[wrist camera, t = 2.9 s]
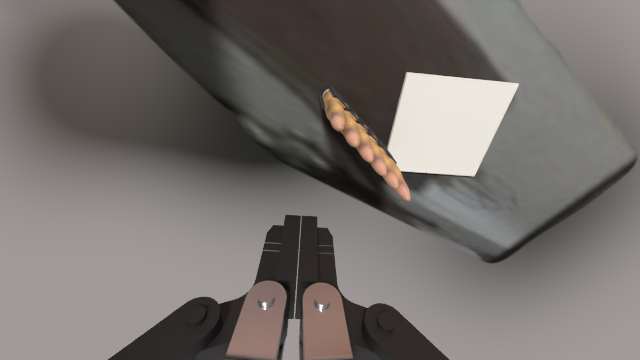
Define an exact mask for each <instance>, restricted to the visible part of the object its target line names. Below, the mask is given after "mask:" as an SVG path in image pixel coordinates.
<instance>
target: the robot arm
mask: <svg viewBox="0 0 640 360" xmlns="http://www.w3.org/2000/svg"><path fill="white" fill-rule="evenodd" d="M300 218H301V216H295V215H286V216H285V222H284V226H279V225H278V226H277V225H273V226H272V228H271V229H270V230H269V231H268V232H267V236H266V240H265V244H264V248H263V252H262V256H261V260H260V264H259V268H258V272H257V277H256V280H255V283H254V285H253V287H252V288H251V289H250V290H249V292H247V293H246V294H245V295H244V296H242V297H240V298H238V299H235V300H232V301H228V302H224V303H221V304H218V303H217V301H215V300H214V299H212V298H210V297H199V298H195V299H192V300H190V301H188V302H187V303H185V304H184V305H183V306H181V307H180V308H179V309H177V310H176V311H174V312H173V313H171V314H170V315H169V316H167V317H166V318H165V319H163V320H162V321H160V322H159V323H158V324H156V325H155V326H154V327H152V328H151V329H150V330H148V331H147V332H145V333H144V334H143V335H141V336H140V337H138V338H137V339H136V340H134V341H133V342H132V343H131V344H129V345H128V346H126V347H125V348H123V349H122V350H121V351H119V352H118V353H116V354H115V355H114V356H112V357H111V358H110V359H108V360H282V356H283V350H284V344H285V339H286V335H287V328H288V319H293V318H294V304H295V290H296V277H297V262H298V249H299V234H300ZM295 318H296V319H300V335H299V360H449V359H448V358H447V357H446V356H445V355H444V354H443V353H442V352H441V351H439V350H438V349H437V348H436V347H435V346H434V345H433V344H432V343H431V342H430V341H429V340H427V338H426V337H425V336H424V335H422V334H421V333H420V332H419V331H418V330H417V329H416V328H415V327H414V326H413V325H412V324H411V323H410V322H409V321H408V320H407V319H405V318H404V317H403V316H402V315H401V314H400V313H399V312H398V311H397V310H395V309H394V308H393V307H391V306H389V305H386V304H382V303H381V304H380V303H378V304H374V305H372V306H370V307H369V308H365V307H362V306H360V305H357V304H354V303H352V302H350V301H348V300H347V299H346V298H345V297H344V296H343V295H342V294H341V292H340V291H339V289H338V285H337V278H336V269H335V257H334V247H333V237H332V235H331V233H330V232H329V230H328V228H317V217H314V216H302V224H301V238H300V253H299V269H298V284H297V299H296V314H295Z"/></svg>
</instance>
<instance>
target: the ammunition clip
mask: <svg viewBox="0 0 640 360" xmlns="http://www.w3.org/2000/svg"><path fill="white" fill-rule="evenodd" d="M319 99H320V103H321V108H322V109H323V110H324V111H325V112H326V116H327V118H328V119H329V120H330V122H331V125H332V127H333V128H334V129H335V130H337V131H341V133H342V134H343V135H344V137H345V138H346V141H347V142H348V143H349V144H350V145H351V146H352V147H354V148H357V150H358V152H359V153H360V155H361V157H362V158H363V159H364V160H365V161H367V162H369V163H370V164H371V165H372V167H373V169H374V170H375V171H376V172H377V173H378V174H379V175H381V176H383V178H384V180H385V181H386V182H387V183H388V185H390V186H391V187H392V188H394V190H395V191H396V192H397V194H398V195H399V196H400V197H401V198H402V199H404V200H405V201H408V202H409V201H410V192H409V189H408V186H407V184H406V183H405V181H404V179H403V177H402V174H401V171H400V169H399V168H398V166H397V165H396V164H397V162H396V161H395V159H394V158H393V156H392V155H391V154H390V152H389V151H388V149H387V148H386V146H385V145H384V144H383V143H382V142H381V141H380V139H379V138H378V137H377V136H376V135H375V134H374V133H373V132H372V130H371V129H370V128H369V127H368V126H367V125H366V124H365V123H364V121H363V120H362V119H361V118H360V117H359V116H358V115H357V114H356V112H355V111H354V110H353V109H352V108H351V107H350V106H349V105H348V103H347V102H346V101H345V100H344V99H343V98H342V97H341V95H340V94H339V93H338V92H337V91H336V90H335V89H334V88H333V86H332V85H331V84H330V85H329V86H328V87H327V88H326V89H325V90H324V91H323V92H322V93H321V94H320V95H319Z"/></svg>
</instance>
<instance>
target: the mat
mask: <svg viewBox="0 0 640 360" xmlns="http://www.w3.org/2000/svg"><path fill="white" fill-rule="evenodd" d="M518 85H519V84H517V83H508V82H498V81H488V80H478V79H468V78H458V77H448V76H438V75H429V74H419V73H409V72H406V75H405V79H404V83H403V87H402V91H401V94H400V98H399V102H398V106H397V110H396V114H395V118H394V122H393V126H392V130H391V134H390V138H389V142H388V146H387V149H388V151H389V152H390V154H391V155H392V156H393V158H394V159H395V161H396V162H397V164H396V165H397V166H398V168H399V169H400V171H406V172H420V173H434V174H448V175H463V176H475V174H476V172H477V170H478V168H479V166H480V164H481V161H482V159H483V157H484V155H485V153H486V151H487V149H488V147H489V145H490V143H491V141H492V139H493V137H494V135H495V133H496V131H497V129H498V127H499V124H500V122H501V120H502V118H503V116H504V114H505V112H506V110H507V108H508V106H509V104H510V102H511V100H512V98H513V96H514V94H515V92H516V90H517V87H518Z"/></svg>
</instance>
